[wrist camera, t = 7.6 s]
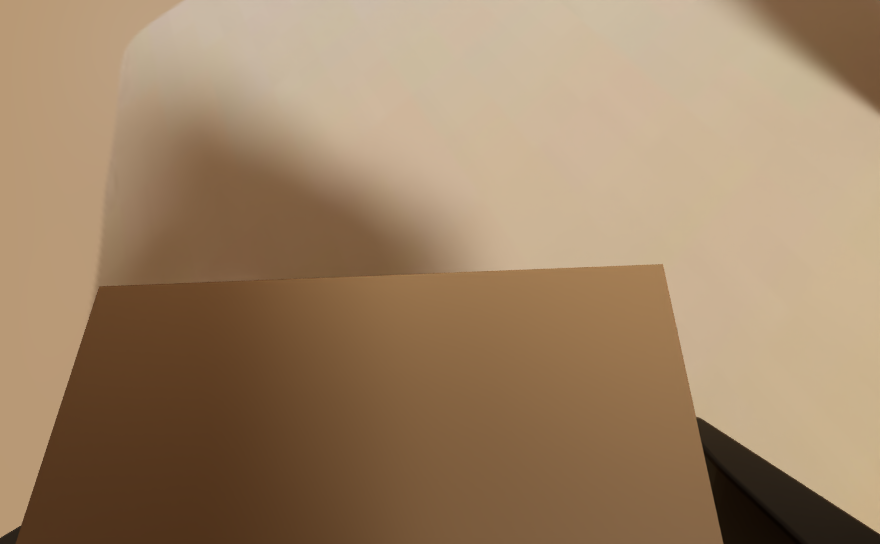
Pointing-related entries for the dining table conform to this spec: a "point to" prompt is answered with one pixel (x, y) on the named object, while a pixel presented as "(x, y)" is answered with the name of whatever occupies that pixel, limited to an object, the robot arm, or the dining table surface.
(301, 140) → the dining table surface
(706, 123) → the dining table surface
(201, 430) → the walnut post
